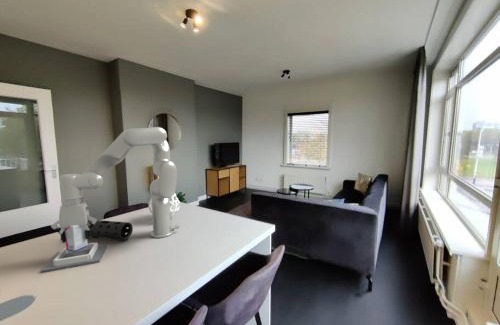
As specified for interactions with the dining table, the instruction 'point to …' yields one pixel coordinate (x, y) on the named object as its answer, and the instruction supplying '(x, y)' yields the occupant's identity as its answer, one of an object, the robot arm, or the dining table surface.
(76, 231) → the supplement box
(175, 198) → the decorative ball
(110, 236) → the muzzle brake
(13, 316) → the dining table surface
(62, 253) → the socket plate
